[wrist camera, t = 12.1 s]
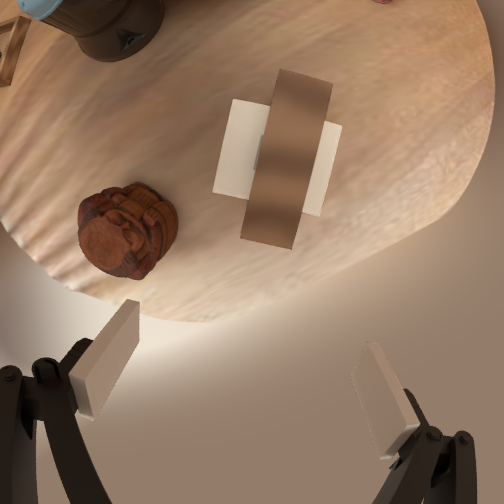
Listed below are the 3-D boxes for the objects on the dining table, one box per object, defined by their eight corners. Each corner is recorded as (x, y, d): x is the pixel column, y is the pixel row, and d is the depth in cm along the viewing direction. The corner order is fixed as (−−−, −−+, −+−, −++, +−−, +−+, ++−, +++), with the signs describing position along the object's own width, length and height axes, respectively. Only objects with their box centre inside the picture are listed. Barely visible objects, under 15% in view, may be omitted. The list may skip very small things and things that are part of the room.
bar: (276, 80, 30) (279, 69, 25) (322, 92, 30) (333, 83, 25) (242, 226, 36) (240, 238, 31) (287, 236, 36) (291, 249, 31)
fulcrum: (233, 100, 39) (227, 86, 30) (340, 126, 40) (360, 121, 31) (213, 191, 43) (202, 201, 35) (317, 215, 44) (332, 230, 36)
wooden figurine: (192, 219, 45) (155, 261, 28) (169, 250, 46) (125, 303, 29) (135, 173, 42) (70, 188, 25) (114, 204, 44) (48, 236, 27)
